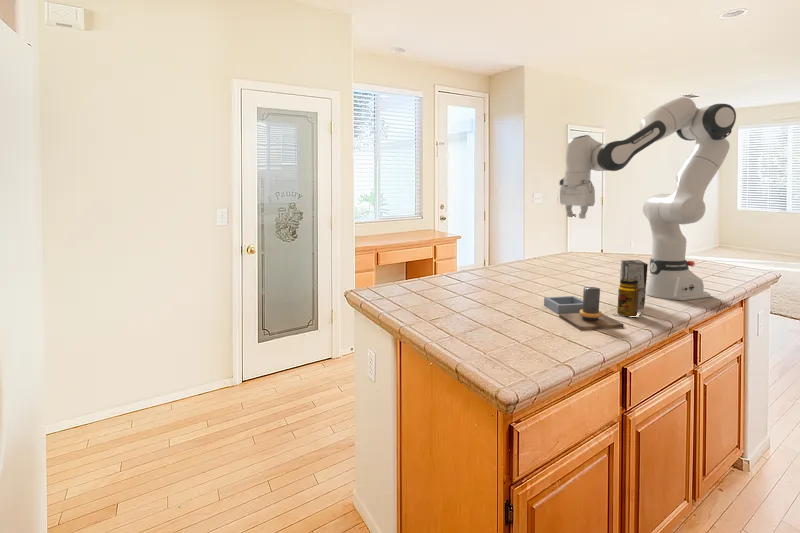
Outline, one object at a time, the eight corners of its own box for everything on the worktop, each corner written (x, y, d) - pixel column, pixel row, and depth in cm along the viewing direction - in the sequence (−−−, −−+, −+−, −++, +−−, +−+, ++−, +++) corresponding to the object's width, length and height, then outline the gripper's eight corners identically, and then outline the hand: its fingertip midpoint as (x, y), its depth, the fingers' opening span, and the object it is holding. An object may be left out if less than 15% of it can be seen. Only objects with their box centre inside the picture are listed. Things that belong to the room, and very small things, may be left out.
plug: (594, 315, 145) (596, 285, 143) (605, 321, 139) (607, 290, 137) (575, 316, 145) (577, 286, 143) (585, 322, 138) (587, 290, 137)
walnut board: (598, 314, 149) (598, 311, 149) (623, 327, 136) (623, 324, 136) (558, 316, 148) (559, 314, 148) (580, 330, 134) (580, 326, 134)
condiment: (613, 315, 149) (615, 280, 147) (619, 309, 155) (622, 276, 153) (637, 318, 144) (639, 283, 142) (643, 312, 150) (645, 278, 148)
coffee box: (645, 309, 154) (648, 264, 151) (625, 309, 155) (628, 263, 152) (636, 302, 163) (639, 259, 160) (618, 302, 164) (620, 259, 161)
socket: (573, 303, 164) (573, 295, 163) (589, 312, 153) (590, 303, 152) (543, 305, 163) (544, 297, 162) (558, 314, 151) (558, 305, 151)
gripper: (600, 179, 155) (598, 219, 158) (572, 180, 175) (570, 215, 178) (583, 180, 155) (581, 219, 157) (557, 181, 175) (555, 216, 177)
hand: (575, 217), depth 168 cm, fingers open, 8 cm apart
